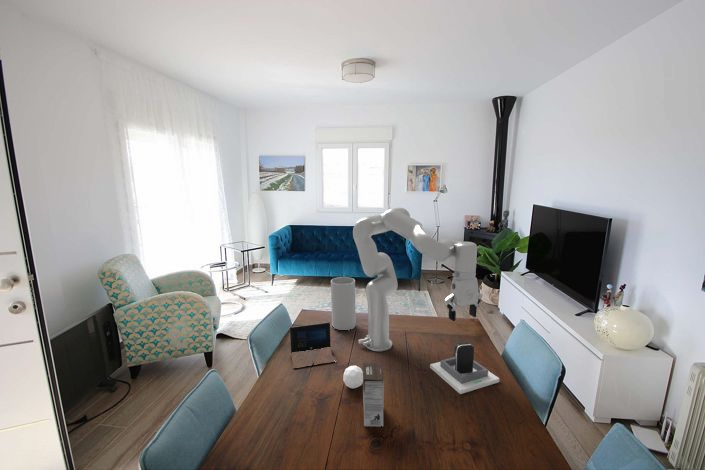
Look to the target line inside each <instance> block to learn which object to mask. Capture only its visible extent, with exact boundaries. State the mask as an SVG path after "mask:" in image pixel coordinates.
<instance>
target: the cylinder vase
mask: <svg viewBox="0 0 705 470" xmlns="http://www.w3.org/2000/svg"><path fill="white" fill-rule="evenodd" d="M330 301H331V303H330V304H331V305H330V306H331V308H330V309H331V327H332V326H333V327H334V328H336V329H339V330H348V331H351V330H353V329H355V327H356V321H357V320H356V316H357V315H356V280H355V278H352V277H349V276H347V277H346V276H339V277H333V278H332V279H331V280H330ZM333 327H332V328H333ZM334 328H333V329H334ZM350 329H351V330H350Z"/></svg>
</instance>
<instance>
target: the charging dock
mask: <svg viewBox="0 0 705 470" xmlns="http://www.w3.org/2000/svg"><path fill="white" fill-rule="evenodd" d="M455 366H456V357H455V356H453V357H449V358H445V359H441V360H440V361H437V362H434V363H430V364H429V368H430V369H431V370H432V371H433V372H434V373H436V375H438V376H439V377H440V378H441V379H442V380H443V381H444V382H446V384H448V385H449V386H450V387H452V389H454V390H455V391H456V392H457V393H458V394H459V395H462V394H463V395H464V394H465V393H469V392H472V391H474V390H478V389H483V388H484V387H488V386H492V385H494V384H499V383H500V378H499V377H498V376H497V375H495V374H493V372H490V370H489V369H487V368H486V367H485V366H484V365H482V364H481V363H479V362H477V361H476V360H475V359H474V361H473V372H470V373H463V374H460V373H459V372H458V371H456V370H455Z"/></svg>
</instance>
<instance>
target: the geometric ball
mask: <svg viewBox="0 0 705 470" xmlns="http://www.w3.org/2000/svg"><path fill="white" fill-rule="evenodd" d="M342 380H343V383H344V384H345V386H346V387H348V388H349V389H357V388H359V387H360V386H363V368H361V367H359V366H357V365H350V366H348V367H347V368H345V369H344V373H343V377H342Z"/></svg>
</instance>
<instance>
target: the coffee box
mask: <svg viewBox="0 0 705 470" xmlns="http://www.w3.org/2000/svg"><path fill="white" fill-rule="evenodd" d="M362 371H363V383H362V386H363V387H362V398H363V399H362V403H363V405H362V407H363V426H364V427H381V426H382V427H384V426H385V425H384V424H385V420H384V415H385V413H384V412H385V377H384V369H383V363H382V362H380V363H379V362H378V363H377V362H364V363H362Z"/></svg>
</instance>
